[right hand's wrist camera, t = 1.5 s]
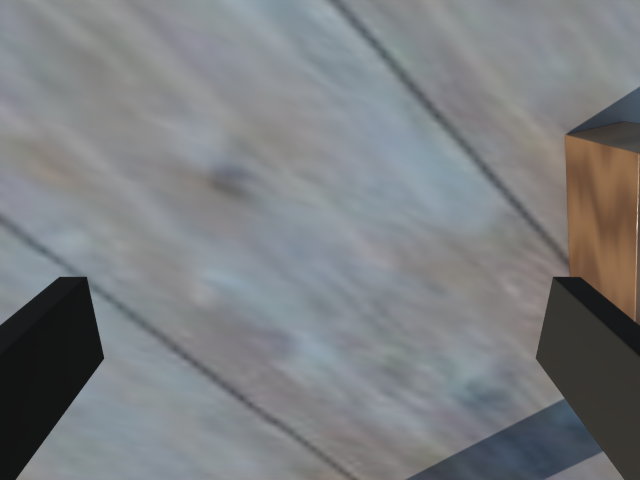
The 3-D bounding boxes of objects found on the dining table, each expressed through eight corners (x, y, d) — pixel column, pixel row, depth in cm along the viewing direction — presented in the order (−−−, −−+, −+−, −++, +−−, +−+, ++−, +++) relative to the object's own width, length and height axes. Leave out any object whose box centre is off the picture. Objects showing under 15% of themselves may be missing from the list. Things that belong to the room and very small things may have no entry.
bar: (564, 134, 37) (639, 153, 28) (625, 121, 37) (718, 135, 28) (573, 389, 46) (631, 461, 38) (621, 380, 46) (691, 451, 37)
